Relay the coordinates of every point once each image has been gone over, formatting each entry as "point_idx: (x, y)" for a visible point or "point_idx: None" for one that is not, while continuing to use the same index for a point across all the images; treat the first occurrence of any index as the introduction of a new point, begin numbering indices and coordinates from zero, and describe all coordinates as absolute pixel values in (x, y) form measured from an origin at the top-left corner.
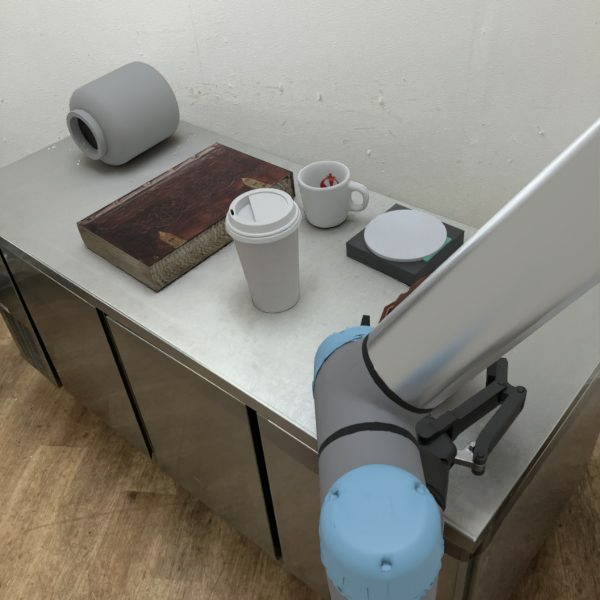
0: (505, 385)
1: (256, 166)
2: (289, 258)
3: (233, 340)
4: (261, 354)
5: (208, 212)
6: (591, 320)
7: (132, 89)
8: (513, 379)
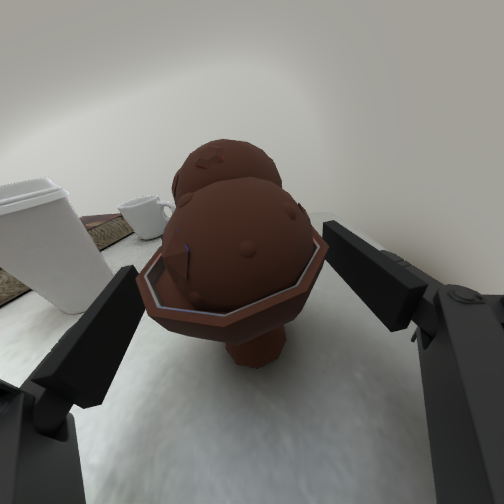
0: (484, 299)
1: (101, 217)
2: (61, 244)
3: (6, 367)
4: None
5: None
6: (356, 230)
7: None
8: (343, 293)
